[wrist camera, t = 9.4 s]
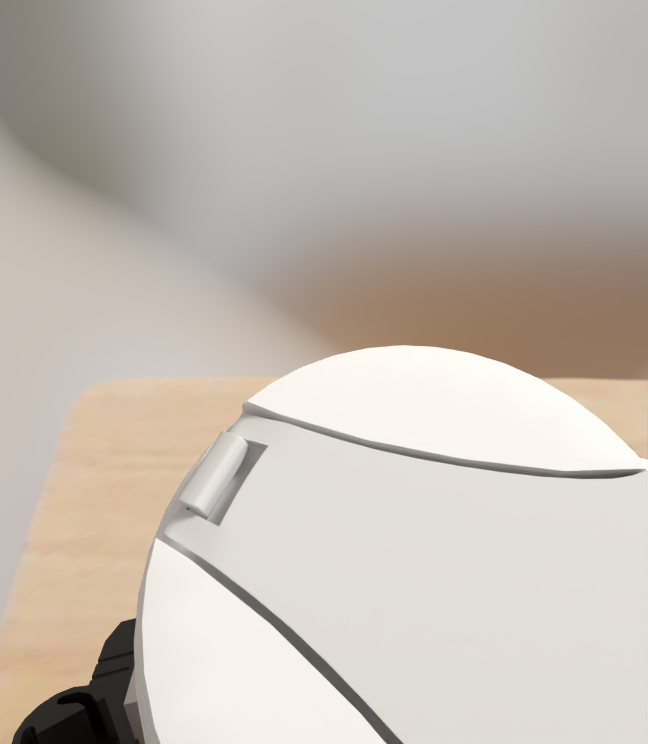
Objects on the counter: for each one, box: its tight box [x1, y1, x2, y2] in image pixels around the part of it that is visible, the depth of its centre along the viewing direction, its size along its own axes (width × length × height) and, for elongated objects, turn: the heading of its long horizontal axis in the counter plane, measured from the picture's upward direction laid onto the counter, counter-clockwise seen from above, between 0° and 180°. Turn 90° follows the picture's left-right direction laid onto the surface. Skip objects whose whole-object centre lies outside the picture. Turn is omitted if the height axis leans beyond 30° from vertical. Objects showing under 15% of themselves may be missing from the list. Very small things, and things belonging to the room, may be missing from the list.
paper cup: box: [134, 346, 648, 744], centre depth 12 cm, size 8×8×14 cm
